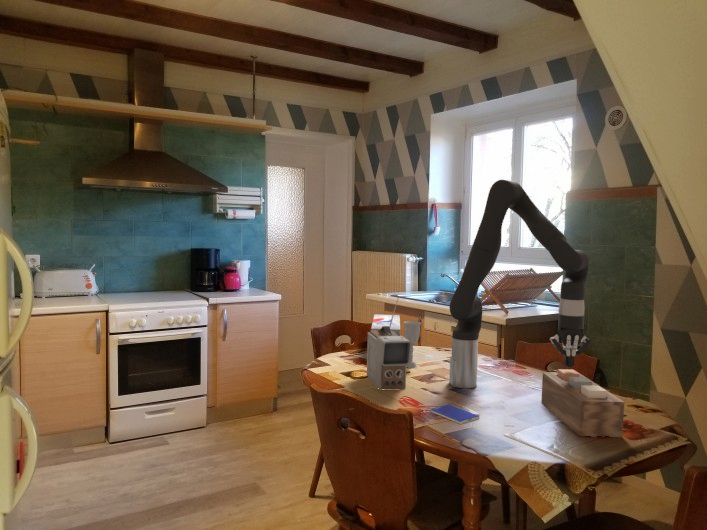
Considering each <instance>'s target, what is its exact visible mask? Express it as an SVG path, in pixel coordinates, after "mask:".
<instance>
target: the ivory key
mask: <svg viewBox="0 0 707 530" xmlns="http://www.w3.org/2000/svg"><path fill="white" fill-rule="evenodd" d="M601 387H602V386H600V385H599V386H587V385H581V394H582V395H584V396H585V397H587V398H606V389H605V388H604V387H602V388H601ZM604 389H605V390H604Z"/></svg>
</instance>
